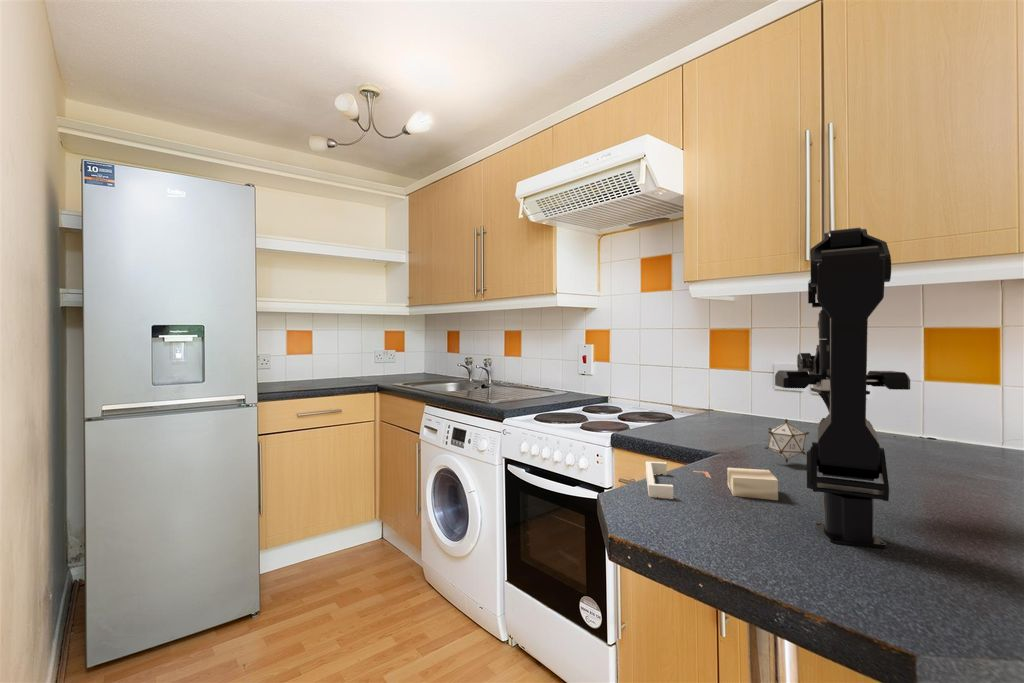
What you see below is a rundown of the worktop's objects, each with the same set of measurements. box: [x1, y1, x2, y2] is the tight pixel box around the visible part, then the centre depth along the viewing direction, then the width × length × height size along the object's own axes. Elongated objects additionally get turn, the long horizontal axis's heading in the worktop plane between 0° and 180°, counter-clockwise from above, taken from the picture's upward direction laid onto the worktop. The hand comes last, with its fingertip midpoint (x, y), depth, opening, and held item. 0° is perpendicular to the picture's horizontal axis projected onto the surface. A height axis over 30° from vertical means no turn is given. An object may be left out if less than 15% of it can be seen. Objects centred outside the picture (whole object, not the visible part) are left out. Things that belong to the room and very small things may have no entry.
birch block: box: [727, 467, 779, 501], centre depth 87 cm, size 7×7×4 cm
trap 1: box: [693, 470, 712, 479], centre depth 99 cm, size 5×8×1 cm, turn 76°
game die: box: [764, 418, 810, 464], centre depth 109 cm, size 9×8×10 cm
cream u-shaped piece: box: [645, 461, 674, 500], centre depth 91 cm, size 17×4×3 cm, turn 166°
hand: (839, 429), depth 84 cm, fingers closed
